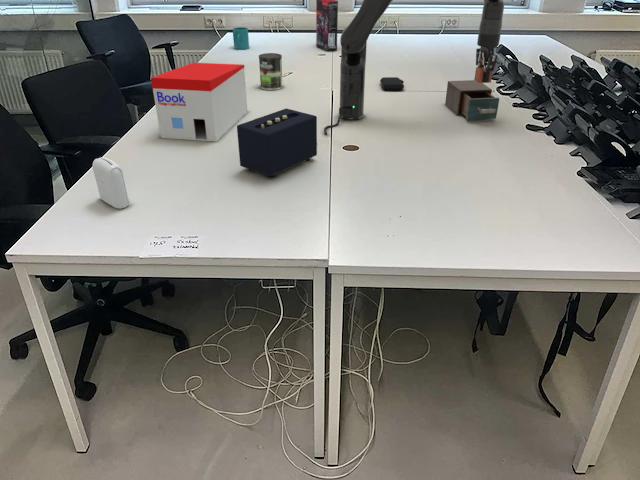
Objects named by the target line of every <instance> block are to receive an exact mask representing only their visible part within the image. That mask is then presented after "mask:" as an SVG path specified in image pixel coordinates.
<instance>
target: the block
mask: <svg viewBox="0 0 640 480" xmlns="http://www.w3.org/2000/svg"><path fill="white" fill-rule="evenodd" d="M483 72H484V67H477V66H476V67H475V71H474V78H473V80H475V81H477V82H478V83H483V82H482V79H483ZM493 73H494V71H491V72H490V76H489V82H487V83H486V84H491V83H492V77H493ZM483 84H484V83H483Z"/></svg>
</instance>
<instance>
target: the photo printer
mask: <svg viewBox="0 0 640 480" xmlns="http://www.w3.org/2000/svg"><path fill="white" fill-rule="evenodd" d="M92 170H93V174H94V179H95V182H96V186H97V191H98V194H99V197H100V199H101V200H102V201H103V202H104V203H106V204H108V205H110V206H111V207H113V208H115V209H119V210H120V209H124V208H127V207H128V206H129V205H130V200H129V195H128V191H127V186H126V182H125V178H124V173H123V170H122V168H121V167H120V165H119V164H118V163H116V162H114V161H113V160H111V159H110V158H108V157H98V158H95V159H94V160H93V162H92Z"/></svg>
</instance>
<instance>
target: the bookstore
mask: <svg viewBox="0 0 640 480" xmlns="http://www.w3.org/2000/svg"><path fill="white" fill-rule="evenodd" d="M245 74H246V73H245V64H237V63H236V64H235V63H214V62H213V63H212V62H191V63H188V64H185V65H183V66H180V67H177V68H174V69H171V70H169V71H166V72H163V73H160V74H157V75H154V76H151V77H150V83H151V88H152V93H153V99H154V104H155V109H156V118H157V122H158V128H159V135H160V139H172V140H187V141H198V142H199V141H200V142H201V141H202V142H215V143H216V142H218V140H220V139H221V138H222V137H223V136H224V135H225V134H226V133H227V132H228V131H229V130H230V129H231V128H232V127H234V125H236V124H237V122H239V121H240V119H242V118H243V116H245V115H246V114H247V113H248V101H247V88H246V87H247V86H246V75H245Z"/></svg>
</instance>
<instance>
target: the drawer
mask: <svg viewBox="0 0 640 480" xmlns="http://www.w3.org/2000/svg"><path fill="white" fill-rule="evenodd" d="M499 104H500V97H496V96H494V95H493V94H492V93H491V94H490V93H488V92H469V93H462V98H461V105H460V112H461V113H462V114H463V115H462V116H465V119H466V121H476V120H477V121H481V120H497V117H498V116H497V115H498V109H499Z"/></svg>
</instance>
